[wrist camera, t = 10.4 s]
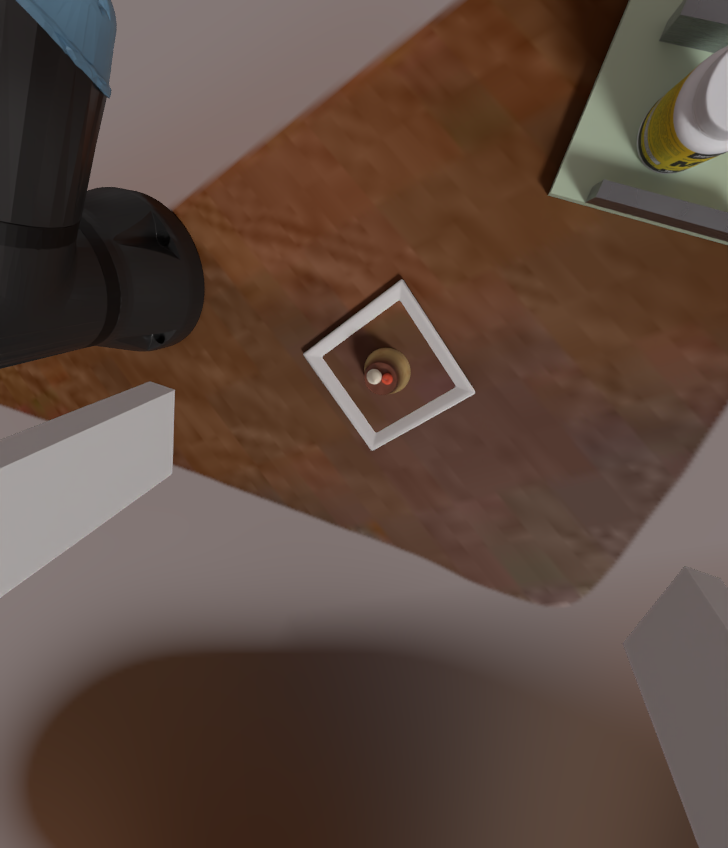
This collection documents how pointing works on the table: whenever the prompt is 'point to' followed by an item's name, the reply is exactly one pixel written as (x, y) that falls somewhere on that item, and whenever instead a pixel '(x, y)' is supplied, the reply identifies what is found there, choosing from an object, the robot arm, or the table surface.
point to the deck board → (636, 118)
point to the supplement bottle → (688, 120)
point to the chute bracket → (699, 29)
